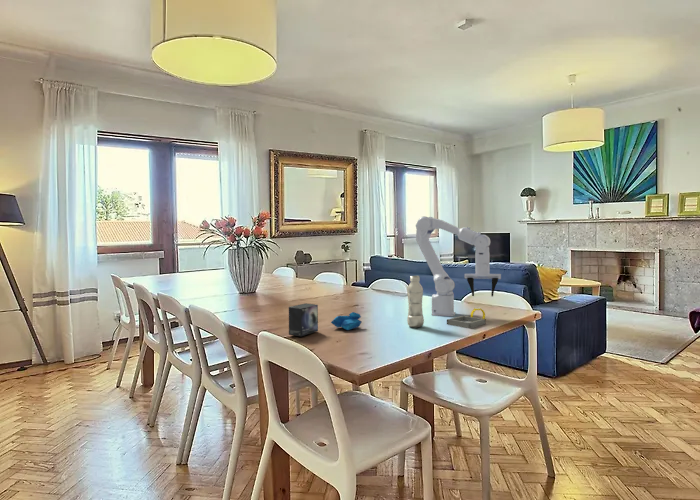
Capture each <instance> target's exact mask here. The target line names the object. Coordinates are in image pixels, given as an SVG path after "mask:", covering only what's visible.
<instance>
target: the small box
mask: <svg viewBox="0 0 700 500" xmlns="http://www.w3.org/2000/svg"><path fill="white" fill-rule="evenodd" d="M318 306H319V305H318V304H313V303H300V304H297V305H292V306H291V305H290V306H288V335H290V336H296V337H303V336H307V335H310V334H313V333H317V332H319V312H318V310H319V307H318Z"/></svg>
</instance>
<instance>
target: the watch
mask: <svg viewBox="0 0 700 500" xmlns="http://www.w3.org/2000/svg"><path fill="white" fill-rule="evenodd" d="M476 311H481V312H482V317H481V318H482V319H486V312H485V311H484V309H483V308H482V307H479V306H478V307H473V309H472V310H471V312H470V317H474V313H475V312H476Z"/></svg>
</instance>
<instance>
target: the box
mask: <svg viewBox="0 0 700 500" xmlns="http://www.w3.org/2000/svg"><path fill="white" fill-rule="evenodd" d="M486 320H487V319H486V318H485V319H482V317H474V316H473V317H471V316H468V315H467V316H466V315H461V316H456V317H455V316H454V317H451V318H447V319H446V325H447V326H454V327H460V328H464V329H470V330H471V329H474V328H477V327H480V326H483V325H486V324H487V321H486Z"/></svg>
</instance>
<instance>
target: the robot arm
mask: <svg viewBox="0 0 700 500" xmlns="http://www.w3.org/2000/svg"><path fill="white" fill-rule="evenodd" d="M415 228H416V230H415V231H416V233H415V234H416V235H415V236H416V237H415V240H416V243H417V246H418V247H419V249H420V251H421V253H422V254H423V258H424V259H425V261H426V264H427V266H428V267H429V269H430V271H431V274H432V275H433V282H434V288H435V289H434V290H435V291H436V294H435V293H433V294H432V295H431V315H432V316H438V317H439V316H443V317H448V316H449V317H455V315H456V311H455V310H454V309H455V306H454V305H455V293H454V292H453V291H454V290H455V287H456V284H455V282H454V280H453V279H452V278H451V277H450V276H449V274H448V273H447V272H446V271H445V269H444V267H443V265H442V264H441V262H440V259H439V257H438V255H437V254H436V251H435V249H434V248H433V245H432V243H431V241H430V238H431V235H432V233H433V232H434V231H435V230H442V231H443V230H444V231H446V232H448V233H450V234H452V235H455V236H457V238H458V240H460V241H463V242H464V243H467V244H469V245H471V246H474V248H475V254H474V255H475V256H474V257H475V259H474V260H475V261H474V262H475V267H474V268H475V269H474V270H475V273H464V279H467V280H466V281H467V283H468V285H469V287H470V290H471V296H473V297H474V296H475V285H474V284H475V281H474V280H475V279H478V280H479V279H481V280H482V279H483V280H484V279H486V280H487V279H488V280H491V296H490V297H494V293H495V288H496V286H497V283H498V281H499V280H501V279H502V274H501V273H491V272H490V271H491V269H490V267H491V266H490V257H491V256H490V255H491V253H490V246H491V239H490V237H489V236H488V235H486V234H481V232H480V231H478V232H477V231H475V230H473V229H471V227H469V226H467V227H466V226H464V227H461V228H460V227H458V226H455V225H454V224H452V223H449V222H447V221H444V220H442V219H439V218H436V217H433V216H421V217H419V218H418V219H417V221H416V224H415Z"/></svg>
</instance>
